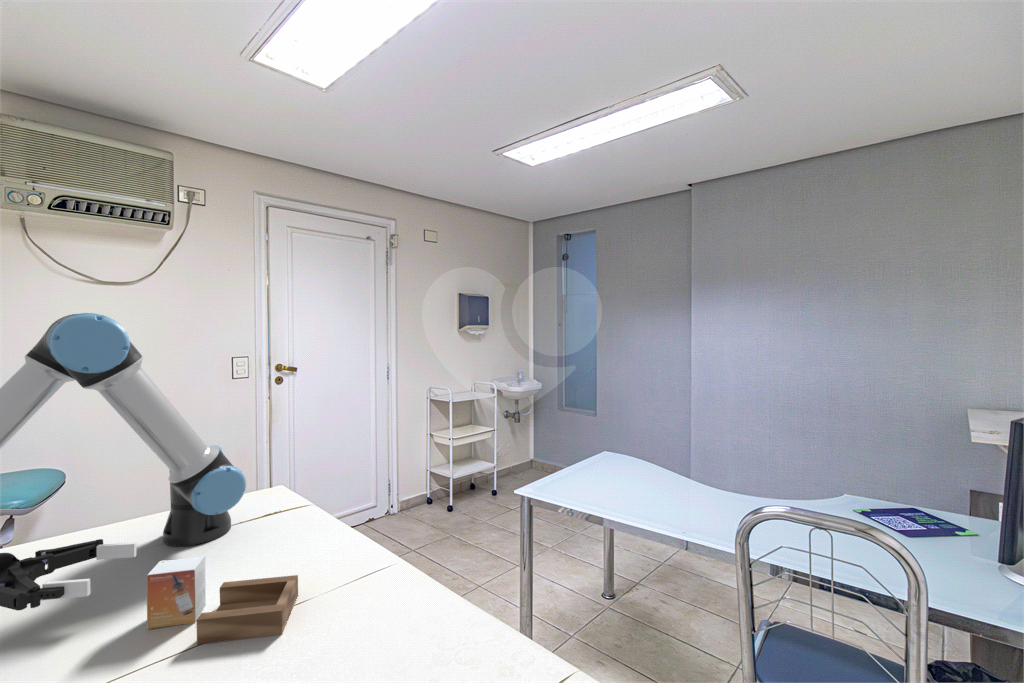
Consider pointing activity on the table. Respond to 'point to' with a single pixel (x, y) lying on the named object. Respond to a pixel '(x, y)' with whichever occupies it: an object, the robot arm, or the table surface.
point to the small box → (176, 592)
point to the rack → (249, 610)
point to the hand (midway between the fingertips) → (114, 567)
